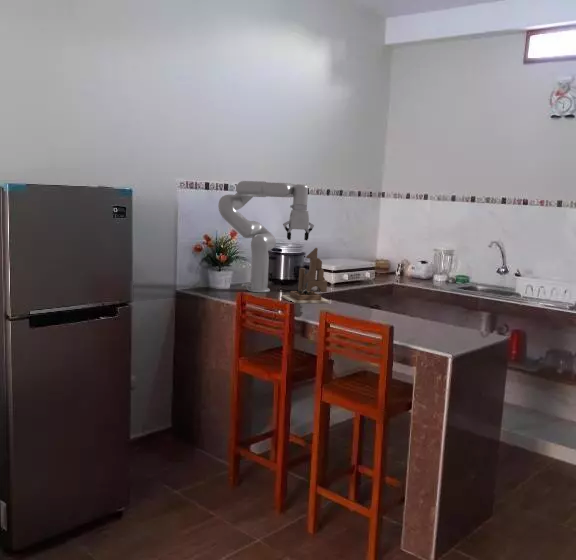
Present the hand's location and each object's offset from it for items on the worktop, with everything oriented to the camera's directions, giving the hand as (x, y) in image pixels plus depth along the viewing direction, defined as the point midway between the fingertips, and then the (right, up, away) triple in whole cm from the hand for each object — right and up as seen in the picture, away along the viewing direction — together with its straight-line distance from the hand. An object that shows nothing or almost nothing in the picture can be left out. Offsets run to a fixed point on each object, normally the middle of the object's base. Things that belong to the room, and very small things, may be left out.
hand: (297, 239), depth 339 cm
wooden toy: (+9, -28, +23) cm, 37 cm away
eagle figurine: (+3, -29, -7) cm, 30 cm away
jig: (+4, -32, -8) cm, 33 cm away
